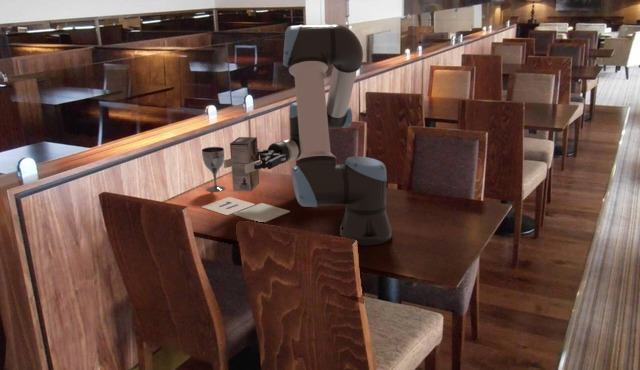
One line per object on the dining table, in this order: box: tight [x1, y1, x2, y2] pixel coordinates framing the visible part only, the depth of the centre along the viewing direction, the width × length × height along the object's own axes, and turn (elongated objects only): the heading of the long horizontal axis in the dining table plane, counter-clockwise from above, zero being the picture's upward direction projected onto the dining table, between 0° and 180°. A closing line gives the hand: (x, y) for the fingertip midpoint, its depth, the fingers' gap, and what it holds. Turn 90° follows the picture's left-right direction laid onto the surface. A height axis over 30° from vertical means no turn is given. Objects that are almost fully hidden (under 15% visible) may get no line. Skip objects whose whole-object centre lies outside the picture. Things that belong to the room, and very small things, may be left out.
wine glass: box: [201, 146, 226, 193], centre depth 218 cm, size 8×8×15 cm
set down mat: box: [233, 202, 291, 223], centre depth 195 cm, size 13×13×1 cm
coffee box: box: [229, 136, 260, 193], centre depth 194 cm, size 9×6×16 cm
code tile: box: [201, 196, 257, 216], centre depth 202 cm, size 13×13×1 cm
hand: (234, 166), depth 191 cm, fingers closed on coffee box, 9 cm apart
